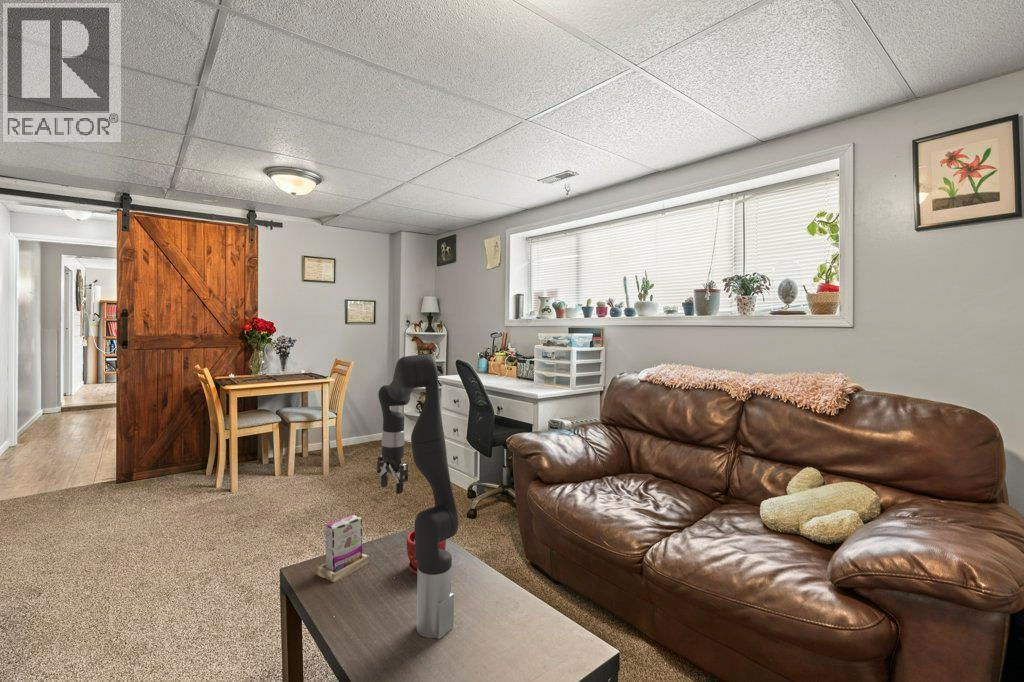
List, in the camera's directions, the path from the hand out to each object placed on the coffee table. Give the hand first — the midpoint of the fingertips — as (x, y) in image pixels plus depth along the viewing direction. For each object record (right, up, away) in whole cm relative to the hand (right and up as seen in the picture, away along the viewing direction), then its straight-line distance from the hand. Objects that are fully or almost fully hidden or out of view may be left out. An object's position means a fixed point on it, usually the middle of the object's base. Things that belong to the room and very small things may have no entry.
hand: (391, 489), depth 163 cm
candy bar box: (-15, -26, -3) cm, 30 cm away
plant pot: (+12, -26, -2) cm, 29 cm away
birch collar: (-15, -25, -3) cm, 30 cm away
